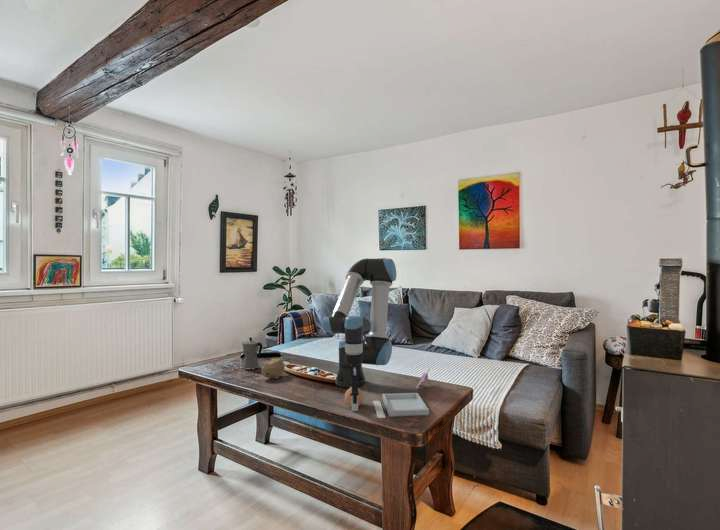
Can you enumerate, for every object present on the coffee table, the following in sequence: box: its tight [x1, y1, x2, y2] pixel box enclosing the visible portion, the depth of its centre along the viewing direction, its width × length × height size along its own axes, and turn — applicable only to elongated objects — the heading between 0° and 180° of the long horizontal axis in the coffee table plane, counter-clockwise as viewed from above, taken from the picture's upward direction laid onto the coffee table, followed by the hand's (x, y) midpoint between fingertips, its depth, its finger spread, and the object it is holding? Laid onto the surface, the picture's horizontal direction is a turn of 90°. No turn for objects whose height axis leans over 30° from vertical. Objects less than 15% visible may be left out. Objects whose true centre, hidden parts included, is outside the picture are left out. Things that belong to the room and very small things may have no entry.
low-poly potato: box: [260, 357, 286, 379], centre depth 199 cm, size 15×11×12 cm
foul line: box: [372, 400, 387, 419], centre depth 154 cm, size 18×3×1 cm, turn 4°
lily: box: [415, 367, 434, 390], centre depth 181 cm, size 12×12×10 cm
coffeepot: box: [241, 336, 264, 369], centre depth 218 cm, size 15×9×18 cm, turn 62°
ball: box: [344, 387, 365, 407], centre depth 157 cm, size 8×8×8 cm
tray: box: [381, 392, 430, 418], centre depth 157 cm, size 20×16×2 cm
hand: (354, 406), depth 157 cm, fingers open, 9 cm apart
